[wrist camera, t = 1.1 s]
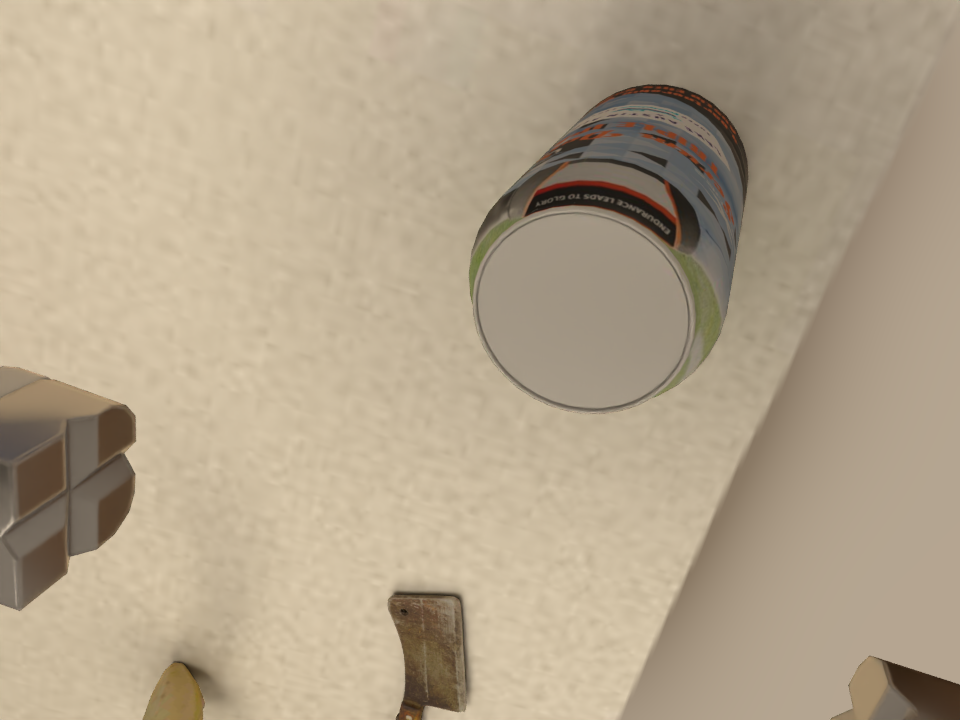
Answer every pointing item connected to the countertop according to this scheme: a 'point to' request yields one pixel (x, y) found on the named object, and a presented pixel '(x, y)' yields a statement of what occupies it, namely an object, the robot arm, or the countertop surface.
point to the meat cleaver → (430, 652)
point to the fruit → (176, 696)
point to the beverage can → (614, 253)
